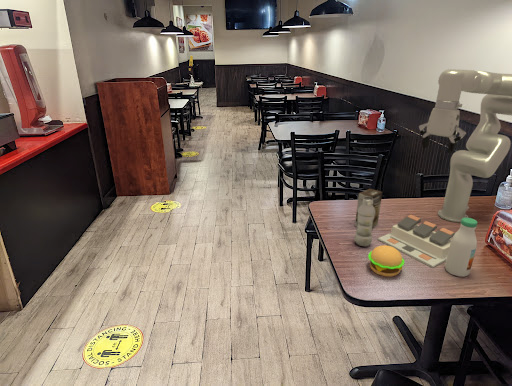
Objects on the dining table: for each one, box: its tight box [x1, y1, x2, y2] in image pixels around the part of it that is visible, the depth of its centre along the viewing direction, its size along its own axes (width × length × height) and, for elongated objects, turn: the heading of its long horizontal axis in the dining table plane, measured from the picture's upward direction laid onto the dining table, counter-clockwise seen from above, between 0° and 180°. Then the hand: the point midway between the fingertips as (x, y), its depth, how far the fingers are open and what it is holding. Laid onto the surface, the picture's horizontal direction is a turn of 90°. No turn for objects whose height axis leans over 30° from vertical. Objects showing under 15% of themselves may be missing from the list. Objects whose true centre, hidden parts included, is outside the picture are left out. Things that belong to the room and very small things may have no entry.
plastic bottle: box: [354, 197, 375, 247], centre depth 135 cm, size 6×7×20 cm
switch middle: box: [413, 220, 438, 238], centre depth 136 cm, size 8×5×1 cm, turn 123°
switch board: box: [377, 223, 452, 269], centre depth 136 cm, size 17×24×5 cm
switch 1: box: [396, 214, 422, 231], centre depth 142 cm, size 8×5×1 cm, turn 123°
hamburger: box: [367, 244, 405, 278], centre depth 121 cm, size 12×12×9 cm
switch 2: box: [429, 227, 456, 246], centre depth 131 cm, size 8×5×1 cm, turn 123°
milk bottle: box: [444, 217, 478, 278], centre depth 118 cm, size 8×8×20 cm
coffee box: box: [354, 188, 383, 229], centre depth 151 cm, size 9×6×16 cm
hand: (437, 149), depth 136 cm, fingers open, 9 cm apart
